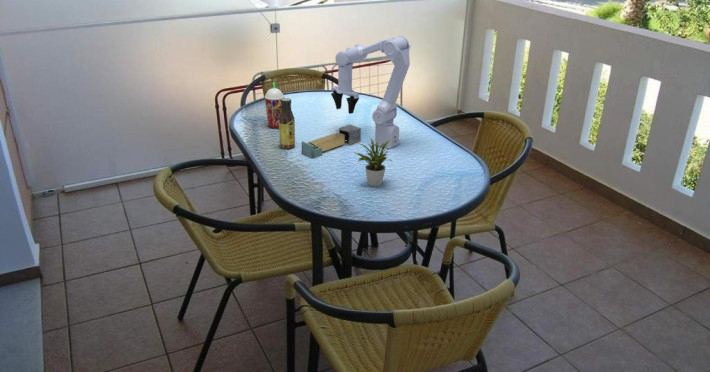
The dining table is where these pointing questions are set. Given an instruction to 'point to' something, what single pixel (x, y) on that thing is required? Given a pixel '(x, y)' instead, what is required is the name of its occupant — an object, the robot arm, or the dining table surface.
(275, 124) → the smoothie
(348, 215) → the dining table surface
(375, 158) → the house plant
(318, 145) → the block
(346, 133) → the sleeve
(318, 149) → the socket
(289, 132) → the sauce bottle
